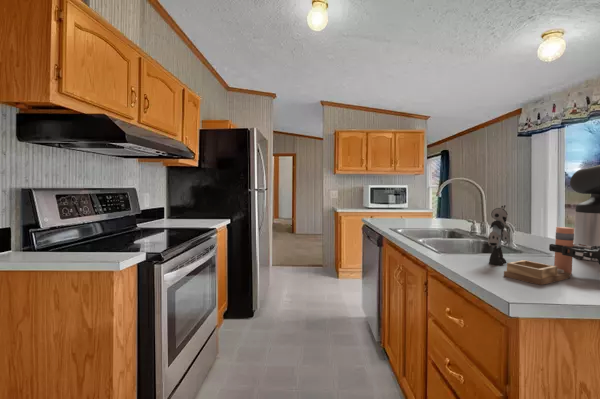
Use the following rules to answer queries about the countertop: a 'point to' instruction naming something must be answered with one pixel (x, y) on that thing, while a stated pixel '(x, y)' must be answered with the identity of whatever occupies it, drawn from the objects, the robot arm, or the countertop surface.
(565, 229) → the banded orange cylinder
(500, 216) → the robot
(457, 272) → the countertop surface
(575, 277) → the countertop surface
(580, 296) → the countertop surface
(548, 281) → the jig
